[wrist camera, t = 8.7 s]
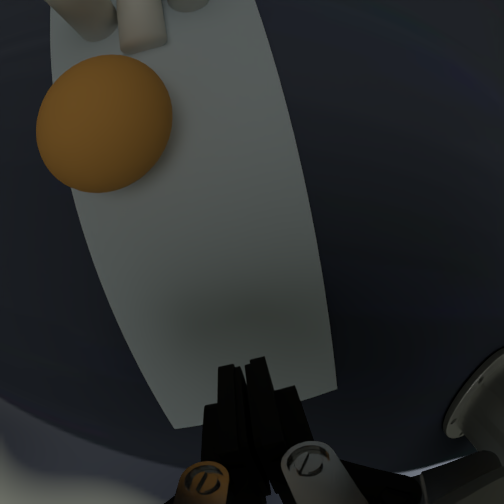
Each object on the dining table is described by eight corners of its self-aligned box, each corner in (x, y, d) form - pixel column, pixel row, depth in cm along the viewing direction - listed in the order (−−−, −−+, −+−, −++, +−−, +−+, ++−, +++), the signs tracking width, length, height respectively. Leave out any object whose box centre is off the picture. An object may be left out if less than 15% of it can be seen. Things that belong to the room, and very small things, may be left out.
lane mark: (336, 387, 19) (337, 388, 19) (174, 427, 18) (174, 429, 18) (232, -56, 11) (232, -58, 10) (52, -2, 10) (50, -3, 10)
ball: (140, 5, 7) (225, 114, 12) (89, 57, 11) (155, 130, 15) (9, 116, 6) (136, 231, 10) (7, 142, 9) (89, 214, 14)
